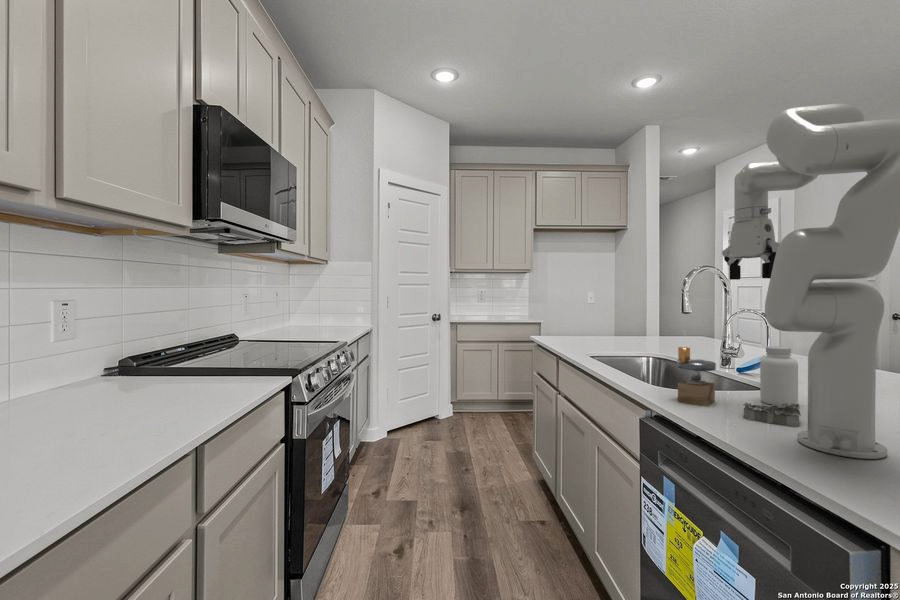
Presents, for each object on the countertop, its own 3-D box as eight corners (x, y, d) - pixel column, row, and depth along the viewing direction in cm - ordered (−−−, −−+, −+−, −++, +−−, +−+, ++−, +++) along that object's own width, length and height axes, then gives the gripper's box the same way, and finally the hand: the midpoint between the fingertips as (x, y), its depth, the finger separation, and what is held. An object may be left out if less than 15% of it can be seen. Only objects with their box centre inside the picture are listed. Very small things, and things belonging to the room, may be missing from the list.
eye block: (706, 406, 110) (706, 385, 110) (677, 401, 115) (677, 381, 115) (714, 401, 115) (714, 381, 115) (686, 396, 120) (686, 377, 120)
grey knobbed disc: (700, 375, 120) (700, 344, 120) (723, 382, 111) (723, 349, 111) (667, 376, 119) (667, 345, 119) (689, 383, 110) (689, 350, 110)
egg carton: (801, 421, 98) (801, 404, 97) (799, 429, 92) (799, 411, 92) (746, 412, 105) (746, 396, 105) (740, 419, 99) (740, 402, 99)
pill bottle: (753, 401, 114) (753, 346, 114) (770, 398, 118) (771, 344, 117) (787, 408, 107) (787, 349, 107) (804, 404, 110) (804, 347, 110)
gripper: (794, 210, 107) (794, 277, 108) (733, 221, 124) (733, 279, 125) (770, 209, 106) (770, 277, 106) (712, 221, 123) (712, 280, 123)
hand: (750, 278), depth 115 cm, fingers open, 9 cm apart
